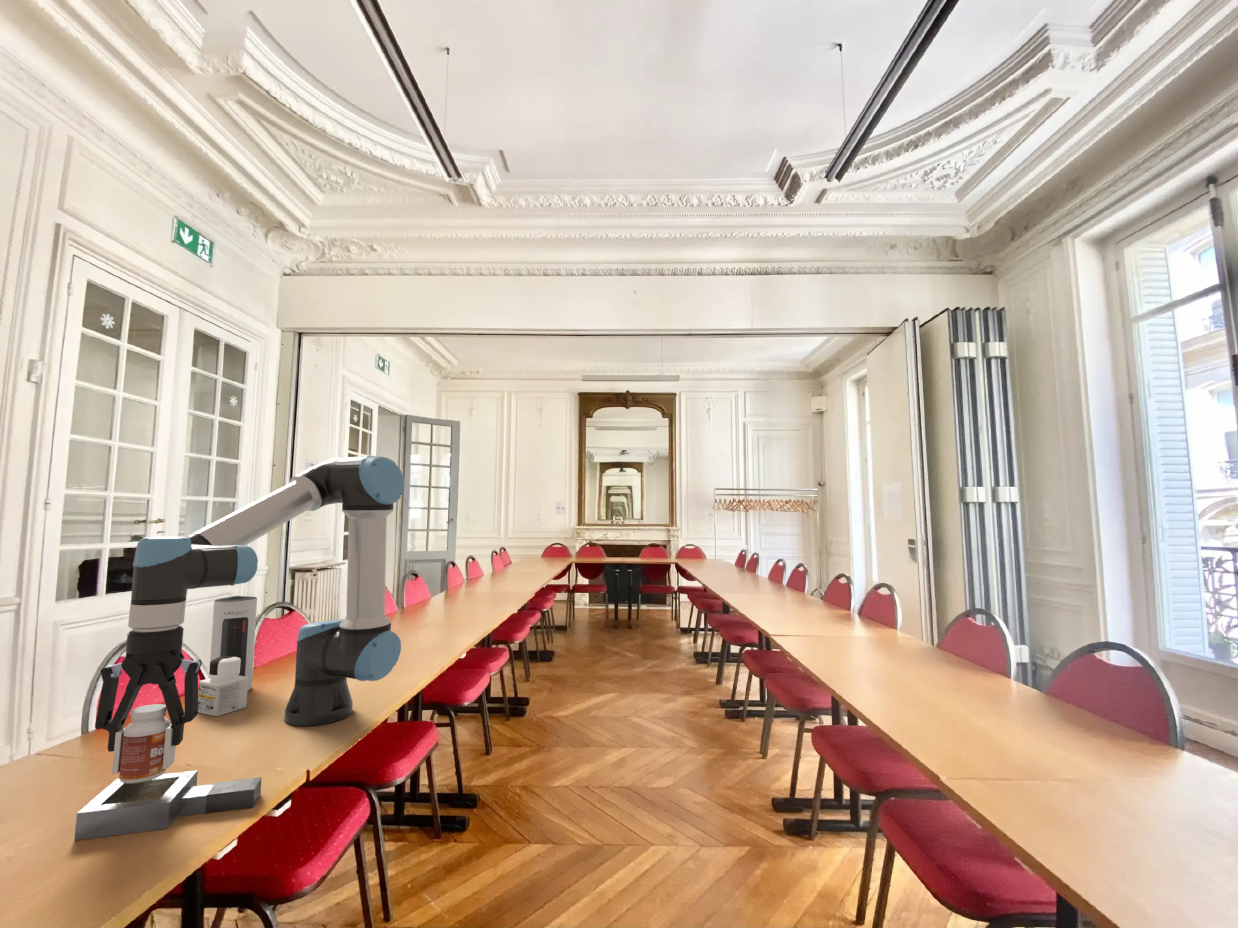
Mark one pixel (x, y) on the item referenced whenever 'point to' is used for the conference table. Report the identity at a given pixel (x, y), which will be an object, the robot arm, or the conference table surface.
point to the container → (223, 687)
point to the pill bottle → (144, 744)
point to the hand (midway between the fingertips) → (144, 767)
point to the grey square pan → (160, 803)
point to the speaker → (235, 631)
